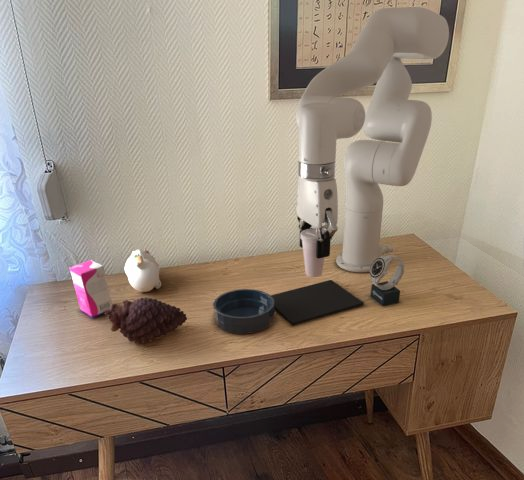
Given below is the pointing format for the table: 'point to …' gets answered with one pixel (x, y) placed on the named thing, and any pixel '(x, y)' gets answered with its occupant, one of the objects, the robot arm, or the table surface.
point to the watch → (386, 290)
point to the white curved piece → (142, 271)
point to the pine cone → (145, 319)
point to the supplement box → (91, 288)
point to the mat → (314, 302)
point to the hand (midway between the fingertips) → (314, 250)
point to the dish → (244, 311)
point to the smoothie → (311, 252)
